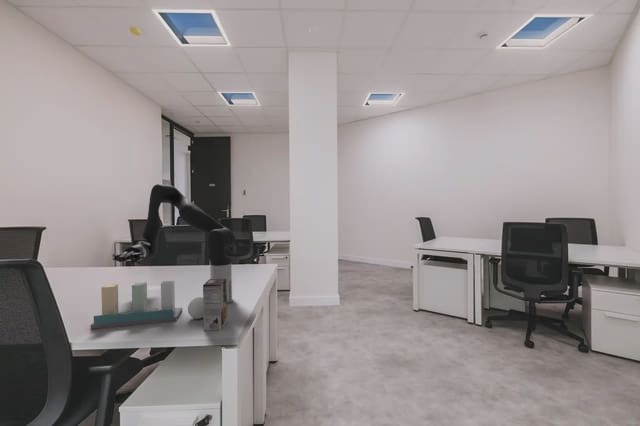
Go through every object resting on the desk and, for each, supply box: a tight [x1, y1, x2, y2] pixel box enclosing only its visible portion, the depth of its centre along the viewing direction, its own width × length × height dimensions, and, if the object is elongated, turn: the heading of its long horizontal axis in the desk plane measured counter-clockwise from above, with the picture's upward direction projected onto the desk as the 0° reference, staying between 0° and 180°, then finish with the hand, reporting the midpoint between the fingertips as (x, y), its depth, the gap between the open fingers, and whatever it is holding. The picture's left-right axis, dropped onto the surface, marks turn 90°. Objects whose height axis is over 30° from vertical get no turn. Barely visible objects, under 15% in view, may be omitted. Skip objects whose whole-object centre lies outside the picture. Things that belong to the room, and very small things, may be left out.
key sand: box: [101, 283, 120, 315], centre depth 115 cm, size 4×4×12 cm
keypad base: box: [90, 307, 183, 330], centre depth 118 cm, size 28×12×4 cm, turn 104°
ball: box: [187, 296, 204, 320], centre depth 118 cm, size 8×8×8 cm
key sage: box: [131, 281, 148, 313], centre depth 118 cm, size 4×4×12 cm
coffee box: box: [202, 278, 228, 332], centre depth 110 cm, size 9×6×16 cm
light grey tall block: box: [160, 280, 176, 312], centre depth 120 cm, size 4×4×12 cm
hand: (120, 259), depth 126 cm, fingers closed
